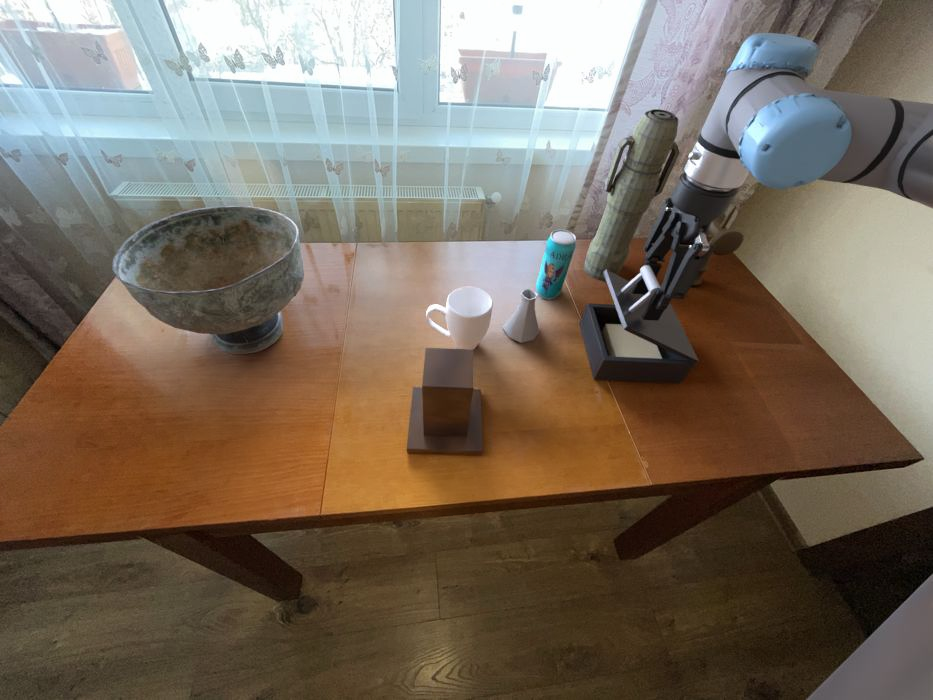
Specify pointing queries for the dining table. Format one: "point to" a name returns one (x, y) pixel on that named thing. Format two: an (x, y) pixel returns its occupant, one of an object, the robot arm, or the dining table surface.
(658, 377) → the open box
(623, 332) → the beige flat square block
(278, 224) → the decorative bowl
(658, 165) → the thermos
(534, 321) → the flask
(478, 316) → the mug
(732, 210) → the kendama
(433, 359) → the stand
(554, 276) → the beverage can
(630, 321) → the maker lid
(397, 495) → the dining table surface
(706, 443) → the dining table surface
